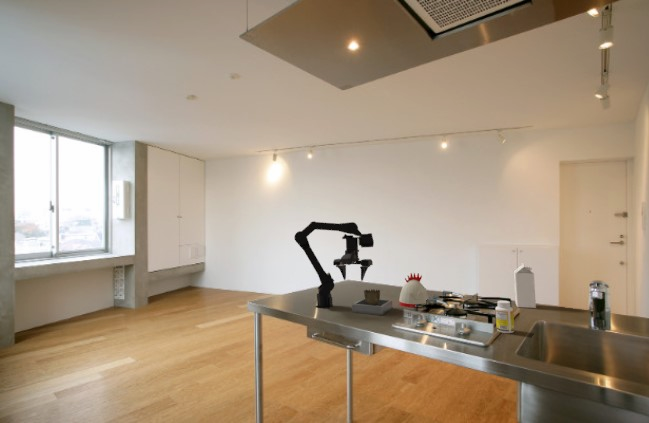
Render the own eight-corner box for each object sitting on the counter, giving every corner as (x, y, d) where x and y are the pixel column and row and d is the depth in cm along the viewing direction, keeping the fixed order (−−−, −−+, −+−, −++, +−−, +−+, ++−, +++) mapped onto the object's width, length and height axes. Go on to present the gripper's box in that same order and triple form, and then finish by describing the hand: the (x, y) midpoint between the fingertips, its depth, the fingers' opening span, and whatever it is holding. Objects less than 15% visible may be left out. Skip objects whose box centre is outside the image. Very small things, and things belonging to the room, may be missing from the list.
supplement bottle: (509, 328, 124) (508, 299, 125) (517, 333, 119) (516, 303, 119) (493, 329, 125) (492, 300, 125) (501, 333, 119) (499, 303, 119)
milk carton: (517, 307, 154) (515, 264, 155) (515, 304, 161) (513, 262, 162) (536, 308, 151) (533, 264, 152) (533, 304, 158) (530, 262, 159)
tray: (352, 312, 156) (351, 304, 156) (364, 305, 168) (364, 298, 168) (382, 315, 149) (381, 306, 149) (392, 307, 161) (392, 300, 161)
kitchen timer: (432, 307, 160) (431, 274, 161) (402, 308, 160) (401, 275, 161) (424, 300, 174) (423, 270, 175) (397, 301, 174) (395, 271, 175)
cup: (380, 310, 154) (379, 292, 154) (363, 310, 155) (363, 291, 156) (381, 306, 161) (380, 289, 162) (365, 306, 163) (364, 288, 163)
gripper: (327, 249, 168) (328, 281, 167) (363, 249, 159) (364, 283, 158) (337, 247, 178) (339, 278, 177) (372, 247, 169) (373, 280, 168)
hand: (353, 280), depth 170 cm, fingers open, 9 cm apart
